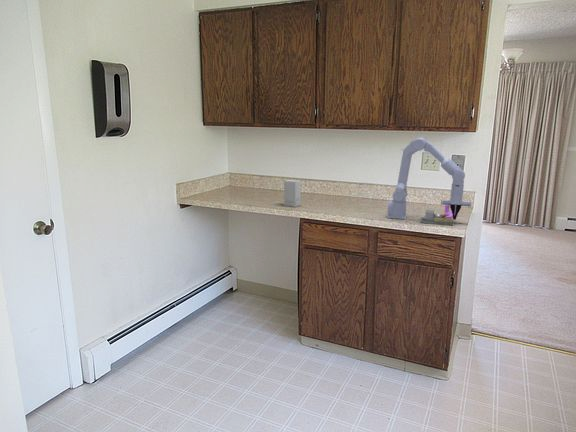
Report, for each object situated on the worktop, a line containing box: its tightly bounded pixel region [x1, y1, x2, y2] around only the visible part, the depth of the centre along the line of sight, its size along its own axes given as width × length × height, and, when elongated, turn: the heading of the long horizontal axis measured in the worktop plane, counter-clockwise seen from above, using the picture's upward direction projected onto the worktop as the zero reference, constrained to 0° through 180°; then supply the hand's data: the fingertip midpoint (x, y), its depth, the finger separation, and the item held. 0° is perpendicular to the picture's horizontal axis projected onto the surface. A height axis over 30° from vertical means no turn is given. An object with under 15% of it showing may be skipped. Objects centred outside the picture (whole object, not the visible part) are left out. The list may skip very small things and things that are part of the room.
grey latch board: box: [419, 217, 455, 227], centre depth 227 cm, size 16×12×4 cm
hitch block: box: [420, 209, 435, 221], centre depth 229 cm, size 12×6×5 cm, turn 69°
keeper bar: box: [434, 217, 453, 223], centre depth 222 cm, size 9×1×2 cm, turn 69°
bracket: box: [442, 205, 456, 219], centre depth 239 cm, size 13×6×7 cm, turn 145°
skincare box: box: [283, 179, 302, 208], centre depth 263 cm, size 8×7×16 cm
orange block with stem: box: [433, 212, 447, 218], centre depth 228 cm, size 7×5×3 cm
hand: (454, 219), depth 225 cm, fingers closed
